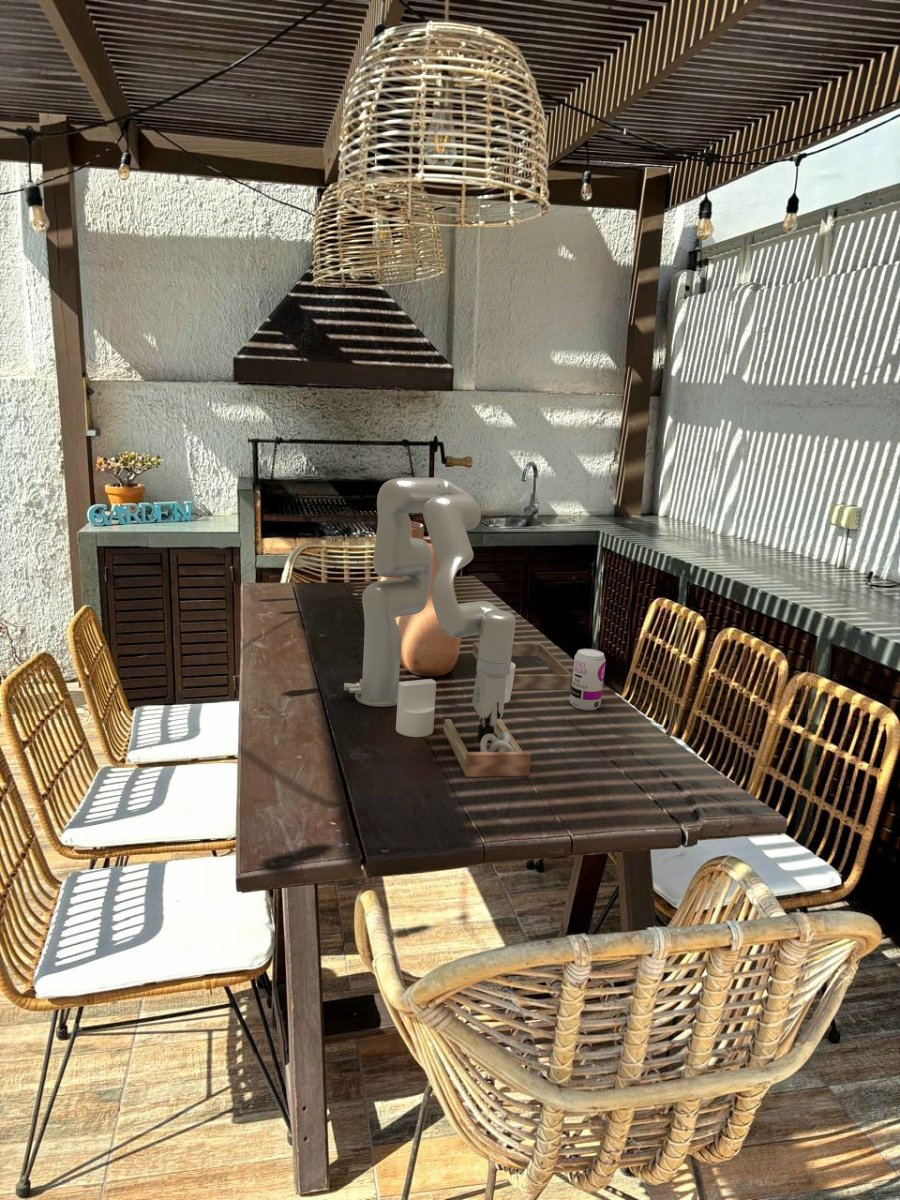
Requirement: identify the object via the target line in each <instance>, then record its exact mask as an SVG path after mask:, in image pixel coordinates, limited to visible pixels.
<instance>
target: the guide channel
mask: <svg viewBox="0 0 900 1200" xmlns="http://www.w3.org/2000/svg"><path fill="white" fill-rule="evenodd" d="M443 733H444V734H445V737H446V739H447V740H448V743H449V745H450V747H451V749H452V750H453V753H454V755H455V757H456V759H457V762H458V764H459V765H460V767H461V770H462V771H463V774H464V776H465V777H466V778H467V777H470V778H473V777H475V778H477V777H523V776H524V777H525V776H530V771H531V770H530V769H531V757H532V753H531V752H530V751H523V750H522V748H521V747H520V746H519V744H518V742H517V741H516V740H515V738H514V737H513V735H512V734H511V732H510V731H509V729H508V728H507V725H505V723H504V721H503V720H502V718H500V719H498V718H497V724H496V726H495V727H494V734H496V737H498V736H499V735H501V734H502V733H508V734H509V736H510V740H509V744H510V745H511V746H512V748H513V749H514V751H515V752H507V750H506V752H498V751H495V752H481V751H468V750H467V747H466V745H465V744H464V741H463V740H462V738H461V736H460V734H459V732H458V730H457V728H456V727H455V725H454V723H453V721H452V719H449V718H448V719H447V718H446V719H445V718H444V723H443Z"/></svg>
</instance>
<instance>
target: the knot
mask: <svg viewBox="0 0 900 1200" xmlns="http://www.w3.org/2000/svg"><path fill="white" fill-rule="evenodd" d="M488 740H490V741H491V742H492V743H491V744H490V745H489V747H488V743H487V742H488ZM509 740H510V736H509V734H508V733H502V734H501V735H499V736H497V735H496V736H495V735H494V734H486V735H484V736H483V738H482V739H481V743H479V745H480V747H479V748H480V752H515V751H514V749H513V748H512V746H511V745H510V744H509ZM506 750H507V751H506Z"/></svg>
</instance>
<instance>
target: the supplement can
mask: <svg viewBox="0 0 900 1200" xmlns="http://www.w3.org/2000/svg"><path fill="white" fill-rule="evenodd" d="M573 658H574V659H573V669H572V675H573V676H572V685H571V689H570V694H569V695H570V697H569V703H570V704H571V706H572V707H573V708H575V709H578V710H582V711H595V710H597V709H598V708H600V707H601V704H602V694H603V686H604V678H605V670H606V663H607V659H606V657H605V654H604V652H602V651H600V650H598V649H594V648H581V649H578V650H577V651H576V653H575V655H574V657H573Z"/></svg>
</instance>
